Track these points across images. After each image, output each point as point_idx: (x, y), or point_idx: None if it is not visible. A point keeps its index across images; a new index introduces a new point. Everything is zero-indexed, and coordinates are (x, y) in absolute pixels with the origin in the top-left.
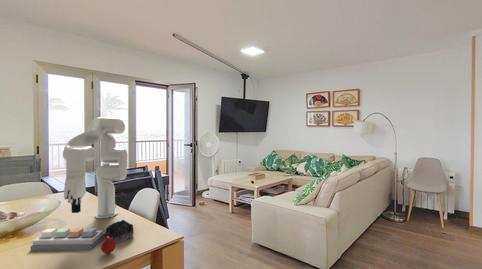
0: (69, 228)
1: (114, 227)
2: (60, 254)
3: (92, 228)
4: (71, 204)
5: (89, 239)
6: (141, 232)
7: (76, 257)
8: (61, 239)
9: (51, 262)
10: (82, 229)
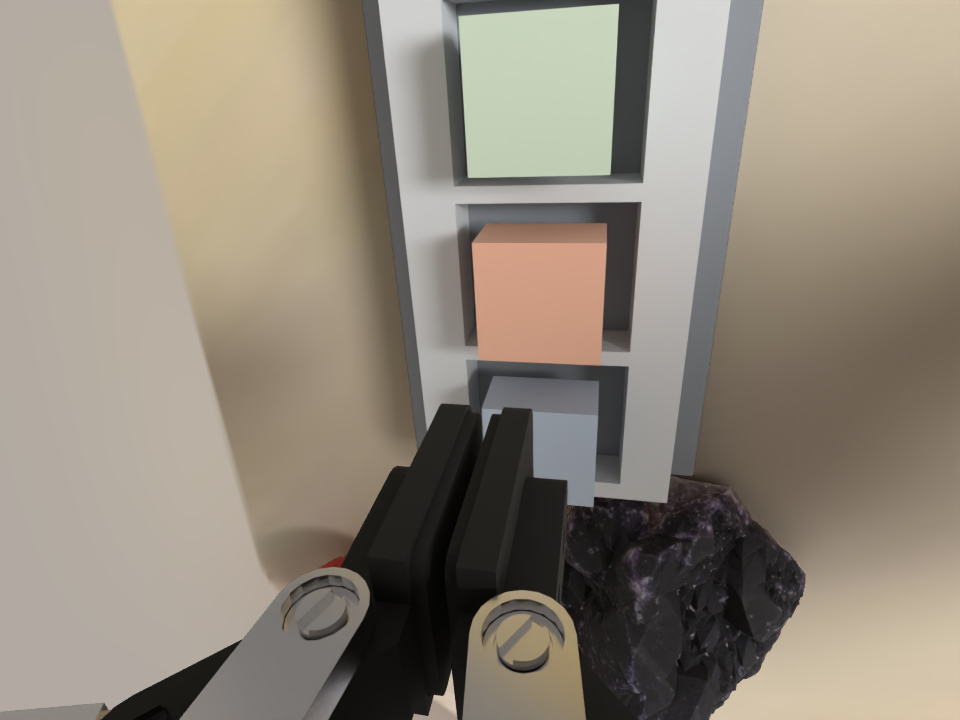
0: (603, 168)
1: (598, 648)
2: (326, 231)
3: (581, 472)
4: (298, 595)
5: None
6: (747, 682)
7: (303, 387)
8: (416, 169)
9: (202, 244)
10: (578, 360)
